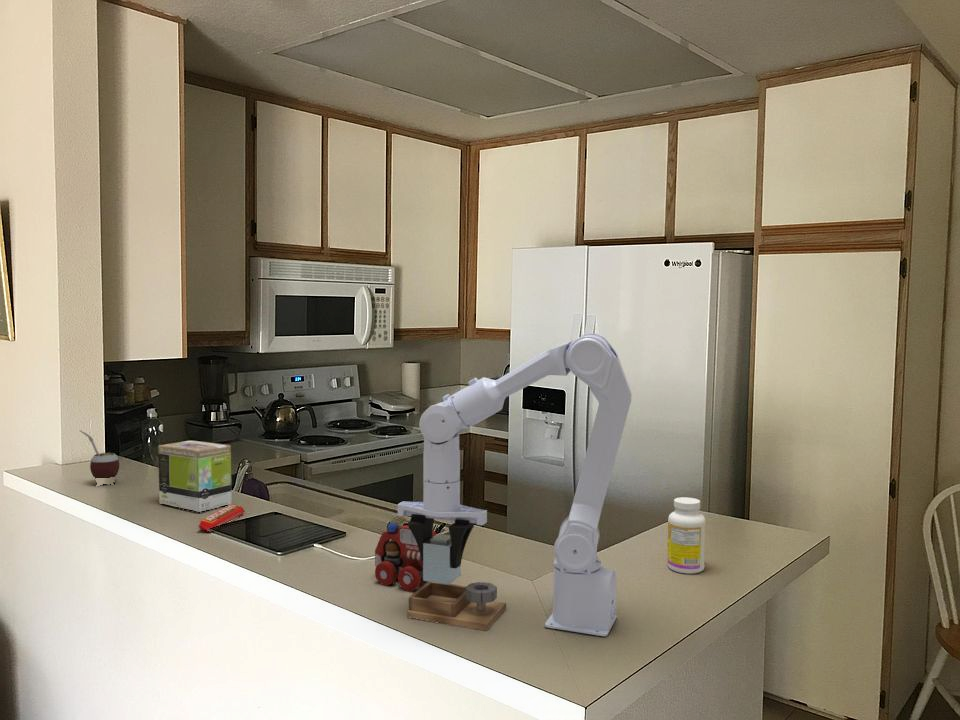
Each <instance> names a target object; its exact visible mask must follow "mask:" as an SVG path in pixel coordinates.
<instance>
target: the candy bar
mask: <svg viewBox="0 0 960 720" xmlns="http://www.w3.org/2000/svg"><path fill="white" fill-rule="evenodd" d="M245 512H246V511H245V509H244V507H242V506H241V505H238V504H235V503H231V505H228V506H225V507H222V508H220V509H219V510H217V511H215V512H213V513H211V514H209V515H207V516H205V517H204V518H202V519H201V520H200V523H199V524H198V528H199V529H200V530H202V529H204V530H203V531H205V530H209V529H210V528H213V527H216V526H220V525H222V524H224V523H227V522H229V521H231V520H233V519H235V518H237V517H239V516H241V515H242V516H243V515H244V513H245ZM242 516H241V517H242ZM239 518H240V517H239ZM237 519H238V518H237Z"/></svg>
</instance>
